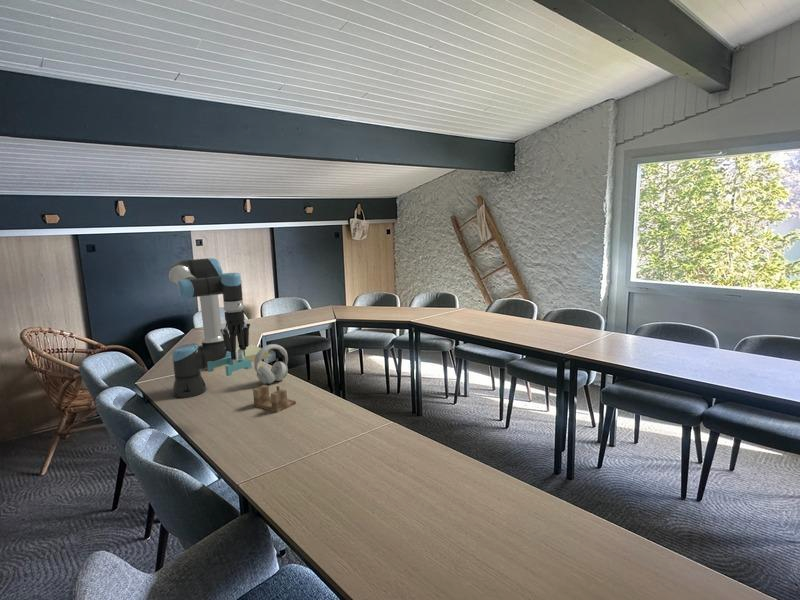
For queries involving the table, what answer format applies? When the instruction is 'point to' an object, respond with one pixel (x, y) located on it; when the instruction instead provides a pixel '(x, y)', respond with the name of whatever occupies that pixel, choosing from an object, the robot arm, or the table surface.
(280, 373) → the headphones
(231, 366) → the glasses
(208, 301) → the robot arm
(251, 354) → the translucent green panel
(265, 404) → the stand
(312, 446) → the table surface
